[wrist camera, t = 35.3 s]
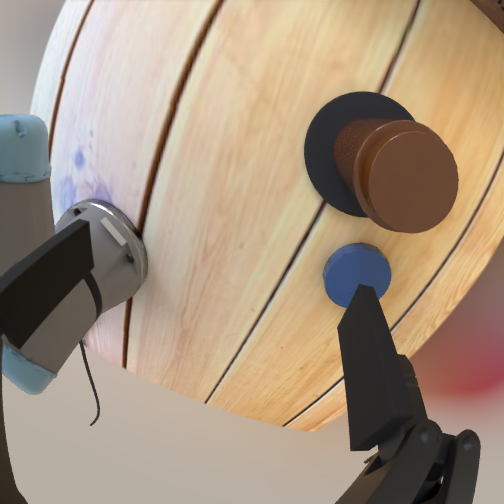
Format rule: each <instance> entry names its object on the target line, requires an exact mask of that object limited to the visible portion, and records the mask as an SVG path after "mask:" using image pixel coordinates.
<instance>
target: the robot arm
mask: <svg viewBox="0 0 504 504" xmlns="http://www.w3.org/2000/svg"><path fill="white" fill-rule="evenodd" d="M50 176H51V165H50V163H49V153H48V131H47V127H46V125H45V123H44V122H43V121H42V120H41V119H40V118H39V117H37V116H34V115H26V114H7V115H0V504H28V503H27V502H26V500H25V498H24V497H23V496H22V495H21V493H20V492H19V491H18V489H17V487H16V484H15V480H14V476H13V472H12V467H11V463H10V458H9V453H8V447H7V441H6V433H5V426H4V415H3V400H2V374H3V375H4V376H6V377H7V378H8V379H9V380H10V381H11V382H12V383H14V384H15V385H16V386H17V387H19V388H20V389H21V390H23V391H24V392H26V393H28V394H31V395H37V394H40V393H42V392H43V391H44V389H45V388H46V387H47V386H48V385H49V384H50V382H51V381H52V380H53V379H54V378H56V377H57V373H58V371H59V370H60V368H61V367H62V366H63V364H64V363H65V361H66V360H67V358H68V357H69V356H70V354H71V353H72V351H73V350H74V349H75V347H76V346H77V345H78V343H79V344H80V347H81V351H82V356H83V360H84V363H85V366H86V370H87V373H88V376H89V379H90V382H91V385H92V388H93V391H94V395H95V398H96V402H97V409H98V411H97V416H96V418H95V420H94V421H93V422H92V423H91V424H90V426H92V425H93V424H94V423H95V422H96V421H97V419H98V417H99V414H100V406H99V400H98V396H97V393H96V389H95V386H94V383H93V380H92V376H91V374H90V370H89V366H88V363H87V359H86V354H85V350H84V346H83V342H82V338H83V337H84V335H85V334H86V333H87V331H88V330H89V329H90V327H91V326H92V325H93V324H94V322H95V321H96V320H97V318H98V317H99V316H100V315H101V314H102V313H103V312H105V311H107V310H109V309H111V308H113V307H115V306H116V305H118V304H120V303H122V302H124V301H126V300H127V299H129V298H130V297H132V296H133V295H134V294H135V293H136V292H137V291H138V289H139V288H140V287H141V285H142V284H143V282H144V280H145V278H146V274H147V255H146V251H145V247H144V244H143V242H142V239H141V237H140V235H139V233H138V232H137V230H136V228H135V227H134V225H133V224H132V223H131V221H130V220H129V219H128V218H127V217H126V216H125V215H124V214H123V213H122V212H121V211H120V210H119V209H117V208H116V207H114V206H113V205H111V204H109V203H107V202H105V201H102V200H98V199H87V200H83V201H81V202H79V203H77V204H75V205H73V206H72V207H70V208H69V209H68V210H67V211H66V212H65V213H64V214H63V216H62V217H61V218H60V220H59V221H58V222H57V224H56V225H55V226H54V219H53V210H52V199H51V186H50ZM337 329H338V336H339V343H340V350H341V357H342V364H343V372H344V381H345V390H346V399H347V410H348V421H349V435H350V449H351V451H369V450H370V449H372V448H373V447H375V446H376V445H378V451H379V452H377V453H376V454H374V455H373V456H371V457H370V458H368V459H367V460H366V461H364V463H368V462H369V461H370V462H369V463H368V465H367V466H366V467H365V469H364V470H363V471H362V472H361V474H360V475H359V476H358V477H357V479H356V480H355V481H354V482H353V483H352V485H351V486H350V487H349V488H348V490H347V491H346V492H345V493H344V494H343V495H342V496H341V497H340V498H339V500H338V501H337V502H336V503H335V504H472V502H473V497H474V492H475V487H476V481H477V475H478V468H479V459H480V448H481V446H480V440H479V437H478V436H477V434H476V433H475V432H474V431H472V430H468V429H466V430H464V431H462V432H461V433H460V434H458V435H457V436H454V435H449V434H445V433H442V431H441V429H440V427H439V426H438V424H436V422H434V421H432V420H430V419H428V418H427V414H426V410H425V406H424V403H423V399H422V396H421V392H420V389H419V387H418V382H417V379H416V378H415V372H414V370H413V366H412V364H411V363H410V361H409V360H408V358H407V357H406V356H405V355H400V354H397V351H396V348H395V345H394V342H393V339H392V336H391V333H390V330H389V327H388V324H387V321H386V319H385V316H384V313H383V310H382V308H381V305H380V302H379V300H378V297H377V294H376V292H375V289H374V287H372V286H367V285H363V284H359V285H358V287H357V289H356V291H355V293H354V295H353V297H352V299H351V301H350V303H349V305H348V307H347V309H346V311H345V313H344V315H343V317H342V319H341V321H340V323H339V325H338V327H337ZM442 477H443V481H442V484H441V479H442Z"/></svg>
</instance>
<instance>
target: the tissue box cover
mask: <svg viewBox="0 0 504 504" xmlns="http://www.w3.org/2000/svg"><path fill="white" fill-rule="evenodd" d="M470 1H471V2H473V3H474V4H475V5H476V6H477V7H478V8H479V9H480V10H481V11H482V12H483V13H484V14H485V15H486V16H488V17H489V18H490V19H491V20H492V22H493V23H494V24H495V25H496V26H497V27H498V28H499V29H500V30H501V31H502V32H503V33H504V0H470Z"/></svg>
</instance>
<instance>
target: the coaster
mask: <svg viewBox="0 0 504 504" xmlns="http://www.w3.org/2000/svg"><path fill="white" fill-rule="evenodd" d="M359 118H384V119H398V120H409V121H414V122H416V121H415V120H414V118H413V117H412V116H411V114H410V113H409V112H408V111H407V110H406V109H405V108H404V107H402V106H401V105H400V104H399V103H397V102H396V101H394V100H392V99H391V98H388V97H386V96H384V95H381V94H377V93H373V92H353V93H348V94H345V95H342V96H339V97H337V98H335V99H333V100H332V101H330V102H329V103H327V104H326V105H325V106H324V107H323V108H322V109H321V110H320V111H319V112H318V113H317V114H316V116H315V117H314V119H313V120H312V122H311V124H310V126H309V129H308V132H307V135H306V139H305V146H304V156H305V164H306V168H307V172H308V175H309V177H310V180H311V182H312V183H313V185H314V187H315V189H316V190H317V191H318V193H319V194H320V195H321V196H322V197H323V198H324V200H325V201H327V202H328V203H329V204H330V205H331V206H333V207H335V208H336V209H338V210H340V211H342V212H344V213H346V214H349V215H352V216H357V217H367V218H369V217H368V215H367V214H366V213H365V212H364V210H363V209H362V207H361V206H360V204H359V203H358V201H357V200H356V198H355V197H354V196H353V194H352V193H351V191H350V190H349V188H348V187H347V186H346V184H345V183H344V181H343V180H342V179H341V177H340V176H339V174H338V172H337V170H336V168H335V165H334V161H333V146H334V142H335V139H336V137H337V135H338V134H339V132H340V131H341V129H342V128H343V127H344V126H346V125H347V124H348V123H350V122H351V121H354V120H356V119H359Z"/></svg>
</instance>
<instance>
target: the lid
mask: <svg viewBox="0 0 504 504" xmlns="http://www.w3.org/2000/svg"><path fill="white" fill-rule="evenodd" d="M323 277H324V283H325V289H326V292H327V294H328V296H329V298H330V299H331V300H332V301H333V302H334V303H336V304H337V305H339V306H342V307H345V308H347V307H348V305H349V303H350V301H351V299H352V297H353V295H354V293H355V291H356V289H357V287H358V285H359V284H363V285H367V286H372V287H374V289H375V292H376V294H377V297H378V300H379V299H380V298H381V297H382V296H383V295H384V294H385V292H386V291H387V289H388V287H389V285H390V281H391V269H390V266H389V263H388V261H387V259H386V258H385V256H384V255H383V253H382V252H381V251H380V250H379V249H377V247H374V246H372V245H369V244H365V243H355V244H350V245H347V246H344V247H342V248H340V249H339V250H338V251H336V252H335V253H334V254H333V255H332V256H331V257H330V258H329V260H328V262H327V264H326V266H325V269H324V273H323Z"/></svg>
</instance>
